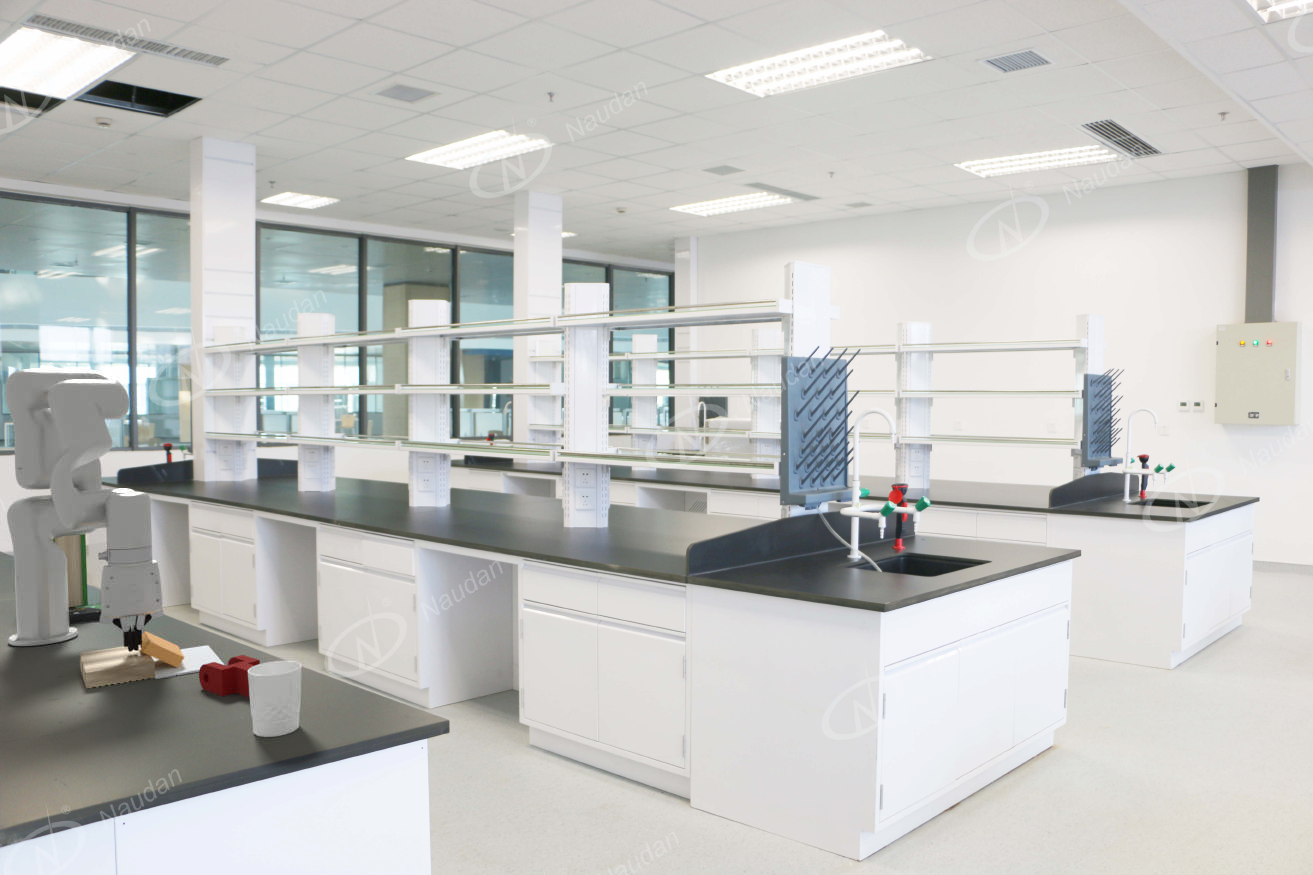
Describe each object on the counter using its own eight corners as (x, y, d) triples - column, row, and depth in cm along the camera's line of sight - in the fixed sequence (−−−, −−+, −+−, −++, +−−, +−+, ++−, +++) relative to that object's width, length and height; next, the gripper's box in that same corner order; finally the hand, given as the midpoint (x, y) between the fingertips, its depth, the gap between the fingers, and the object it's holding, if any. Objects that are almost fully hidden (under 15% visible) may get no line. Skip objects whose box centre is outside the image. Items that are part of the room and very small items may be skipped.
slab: (138, 640, 179) (145, 630, 180) (171, 655, 183) (178, 645, 183) (142, 652, 171) (150, 641, 172) (177, 667, 175) (184, 657, 175)
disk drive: (44, 630, 208) (118, 619, 217) (44, 618, 208) (118, 608, 217) (42, 621, 216) (114, 611, 225) (41, 609, 216) (113, 600, 225)
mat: (143, 656, 184) (143, 654, 184) (208, 646, 191) (208, 645, 191) (155, 678, 169) (155, 676, 169) (225, 667, 176) (225, 665, 176)
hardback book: (88, 609, 225) (84, 514, 224) (52, 614, 220) (49, 517, 219) (72, 598, 238) (69, 508, 237) (38, 603, 233) (35, 511, 232)
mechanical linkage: (199, 689, 164) (198, 662, 164) (237, 678, 170) (236, 652, 169) (247, 706, 155) (246, 677, 154) (285, 694, 160) (284, 667, 160)
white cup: (313, 723, 145) (312, 662, 145) (278, 741, 138) (276, 677, 138) (274, 718, 148) (273, 658, 148) (237, 735, 141) (236, 672, 140)
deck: (80, 667, 176) (79, 652, 176) (144, 657, 183) (143, 643, 183) (86, 688, 163) (85, 672, 163) (154, 677, 170) (154, 661, 170)
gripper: (85, 563, 166) (89, 660, 167) (176, 554, 175) (179, 647, 176) (83, 557, 172) (86, 651, 173) (170, 549, 181) (173, 639, 182)
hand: (133, 649), depth 175 cm, fingers closed
